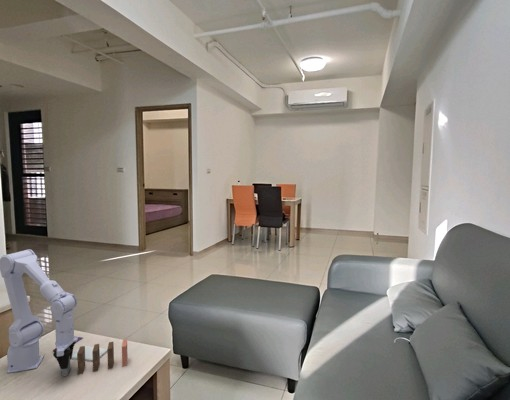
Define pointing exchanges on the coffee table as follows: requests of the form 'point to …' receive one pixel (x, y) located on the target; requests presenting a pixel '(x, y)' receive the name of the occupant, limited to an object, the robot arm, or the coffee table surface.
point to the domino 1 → (65, 371)
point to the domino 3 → (96, 357)
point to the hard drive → (89, 353)
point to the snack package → (75, 342)
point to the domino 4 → (110, 355)
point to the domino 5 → (124, 353)
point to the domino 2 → (81, 360)
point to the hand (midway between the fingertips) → (66, 363)
